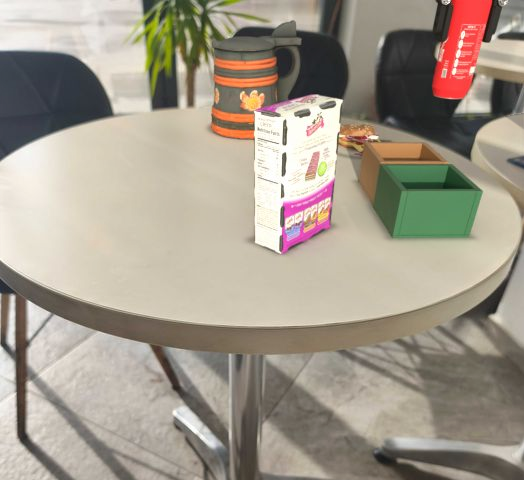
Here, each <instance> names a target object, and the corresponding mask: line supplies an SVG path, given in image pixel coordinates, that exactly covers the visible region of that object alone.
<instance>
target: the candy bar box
mask: <svg viewBox="0 0 524 480" xmlns="http://www.w3.org/2000/svg"><path fill="white" fill-rule="evenodd" d="M343 103H344V100H343V99H341V98H337V97H331V96H327V95H321V94H312V93H311V94H308V95H304V96H300V97H296V98H293V99H289V100H288V101H285V102H281V103H277V104H274V105H270V106H266V107H263V108H259V109H255V110H254V139H253V149H254V150H253V166H254V167H253V171H254V172H253V173H254V179H253V180H254V181H253V182H254V184H253V186H254V187H253V190H254V191H253V192H254V193H253V196H254V203H253V205H254V208H253V209H254V212H253V214H254V244H255V245H257V246H259V247H261V248H265V249H267V250H270V251H272V252H274V253H277V254H279V255H283V254H285V253H288V252H289V251H290V250H293V249H294V248H296V247H298V246H299V245H301V244H303V243H305V242H306V241H308V240H310V239H312V238H314V237H316V236H317V235H319V234H321V233H323V232H324V231H326V230H328V229H330V228H331V223H332V214H333V213H332V211H333V203H334V193H335V181H336V171H337V163H338V153H339V151H338V150H339V132H340V127H341V122H342V121H341V120H342V111H343Z"/></svg>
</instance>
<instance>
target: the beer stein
mask: <svg viewBox="0 0 524 480" xmlns="http://www.w3.org/2000/svg"><path fill="white" fill-rule="evenodd" d="M302 40H303V39H302V37H299V36H297V22H296V20H294V19H291V20H290V21H284V22H282V23H280V24H278V25H277V26H276V28H275V29H274V30H273V32H272V33H271V35H261V36H257V37H256V36H231V37H227V38H224V39H222V40H211V47H212V48H213V56H214V62H213V64H214V65H213V78H212V79H213V81H214V88H213V89H214V90H213V105H212V106H211V125H210V129H211V131H212V132H213V133H214V134H216V135H219V136H221V137H224V138H227V139H235V140H236V139H237V140H254V110H255V109H259V108H263V107H266V106H270V105H274V104H277V103H281V102H285V101H288V100H290V99H289V95H290V94H291V92H292V90H293V88H294V86H295V85H296V82H297V80H298V77H299V75H300V71H301V54H300V50H299V47H298V46H301V45H302ZM282 49H286V50H287V51H288V52H289V53H290V55H291V58H292V60H291V61H292V62H291V63H292V64H291V66H290V68H289V69H290V70H289V71H288V73H286V74H285V75H284V76H279V74H278V69H279V68H278V66H277V65H278V64H277V57H278V56H276V53H277V51H278V50H282Z"/></svg>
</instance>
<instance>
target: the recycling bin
mask: <svg viewBox="0 0 524 480" xmlns="http://www.w3.org/2000/svg"><path fill="white" fill-rule="evenodd" d="M483 193H484V190H483V189H482V188H481V187H479V186H478V185H477V184H476V183H475V182H473V181H472V180H471V179H470V178H469V177H468V176H467V175H465V174H464V173H463V172H462V171H461V170H460V169H459V168H457V167H456V166H455V165H454V164H453V163H449V164H380V168H379V174H378V180H377V186H376V192H375V198H374V204H372V208H373V210H374V211H375V213H376V215H377V216H378V218H379V220H380V221H381V222H382V224H383V226H384V227H385V229H386V231H387V232H388V234H389V236H390V237H391V238H392V239H448V238H449V239H451V238H452V239H454V238H457V239H460V238H463V239H464V238H470V235H471V233H472V229H473V226H474V222H475V220H476V216H477V212H478V210H479V206H480V204H481V203H480V202H481V199H482V196H483Z"/></svg>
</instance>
